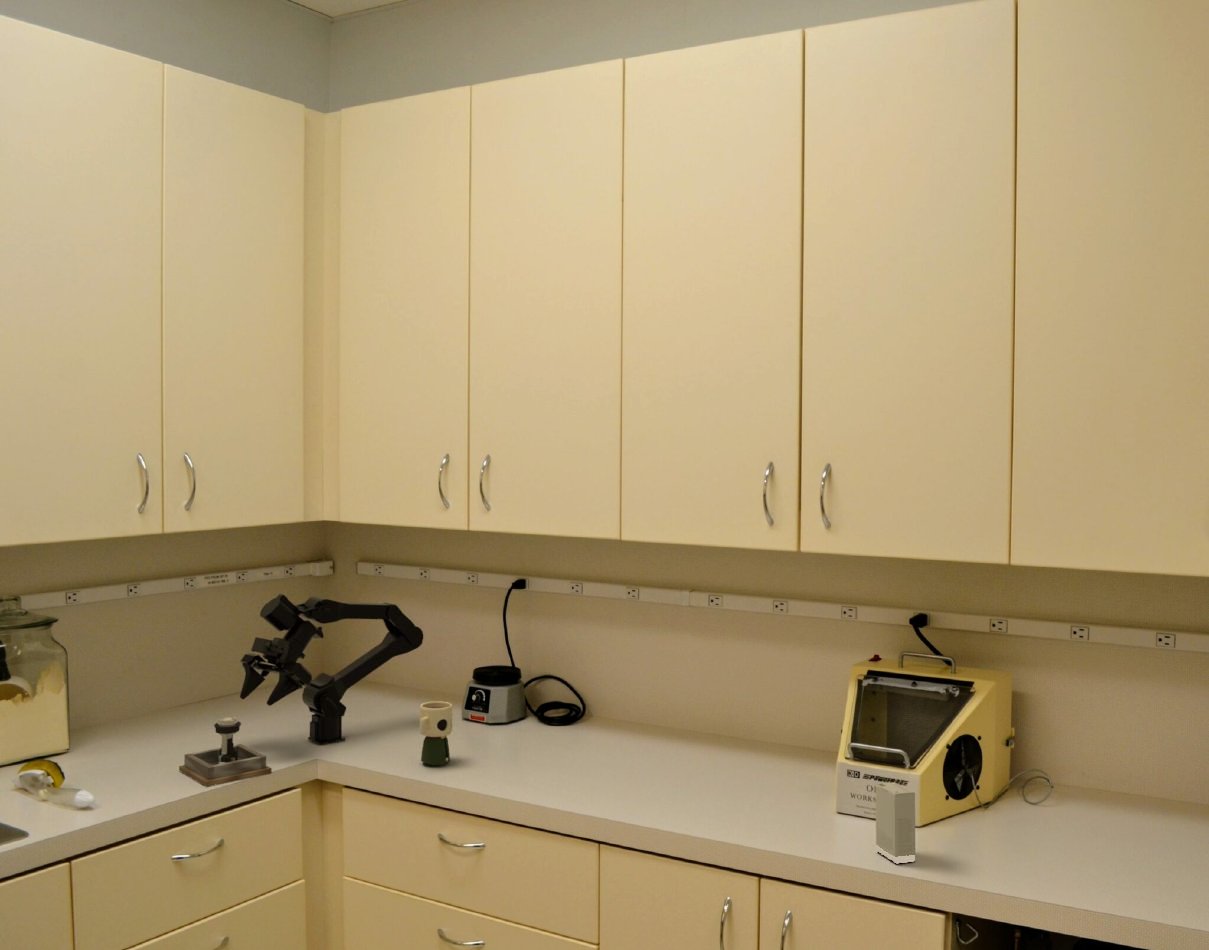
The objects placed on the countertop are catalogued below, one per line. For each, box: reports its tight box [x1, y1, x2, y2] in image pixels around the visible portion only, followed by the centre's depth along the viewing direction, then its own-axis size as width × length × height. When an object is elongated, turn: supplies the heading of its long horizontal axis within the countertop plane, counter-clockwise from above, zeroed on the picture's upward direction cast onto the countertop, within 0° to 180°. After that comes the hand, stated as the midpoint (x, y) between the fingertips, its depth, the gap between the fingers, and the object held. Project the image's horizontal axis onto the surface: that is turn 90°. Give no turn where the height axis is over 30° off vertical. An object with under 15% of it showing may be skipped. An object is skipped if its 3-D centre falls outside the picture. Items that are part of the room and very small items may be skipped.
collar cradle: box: [178, 743, 273, 787], centre depth 218 cm, size 14×14×4 cm
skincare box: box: [874, 781, 916, 857], centre depth 177 cm, size 6×4×12 cm
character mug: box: [419, 700, 453, 766], centre depth 226 cm, size 11×7×13 cm, turn 154°
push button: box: [213, 716, 242, 764], centre depth 218 cm, size 7×5×10 cm
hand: (254, 701), depth 228 cm, fingers open, 9 cm apart
